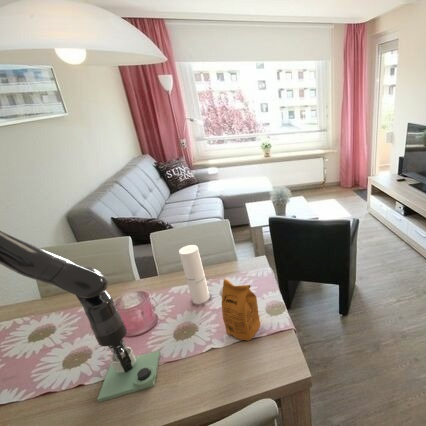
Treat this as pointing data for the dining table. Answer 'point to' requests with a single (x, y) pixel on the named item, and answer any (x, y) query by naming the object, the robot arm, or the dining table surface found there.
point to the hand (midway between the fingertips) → (125, 364)
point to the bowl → (116, 363)
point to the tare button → (143, 374)
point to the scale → (129, 377)
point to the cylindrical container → (194, 273)
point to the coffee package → (239, 311)
